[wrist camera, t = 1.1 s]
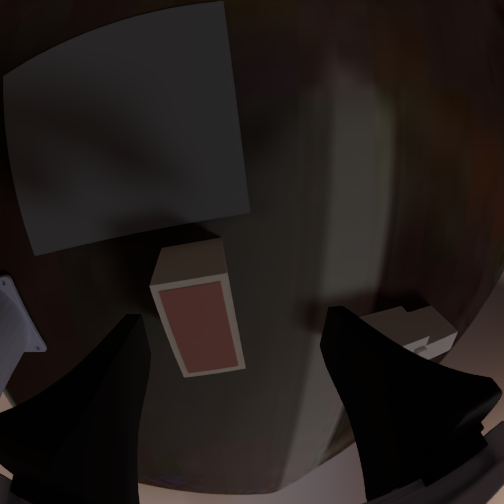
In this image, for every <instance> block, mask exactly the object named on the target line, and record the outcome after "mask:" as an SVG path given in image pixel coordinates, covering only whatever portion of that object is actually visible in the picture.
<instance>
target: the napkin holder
mask: <svg viewBox="0 0 504 504" xmlns="http://www.w3.org/2000/svg"><path fill="white" fill-rule="evenodd" d="M359 318H361V319H362V320H364V321H365V322H366V323H368V324H369V325H371V326H372V327H373V328H375V329H376V330H378V331H379V332H381V333H382V334H383V335H385V336H387V337H388V338H390V339H391V340H393V341H394V342H396V343H398V344H399V345H401V346H403V347H404V348H406V349H408V350H410V351H412V352H414V353H416V354H417V355H419V356H421V357H423V358H426V359H428V360H429V359H431V358H433V357H435V356H437V355H439V354H442V353H444V352H446V351H448V350H450V348H451V346H452V344H453V342H454V340H455V337H456V335H457V333H458V331H457V330H456V329H455V328H454V327H453V326H452V325H451V324H450V323H449V322H448V321H447V320H446V319H445V318H443V317H442V316H441V315H440V314H439V313H438V312H437V311H436V310H435V309H434V308H433V307H432V306H431V305H430V306H427V307H424V308H421V309H418V310H415V311H412V312H407V311H406V310H405V309H404V308H403V307H402V306H399V307H396V308H392V309H388V310H384V311H381V312H377V313H373V314H369V315H365V316H361V317H359Z"/></svg>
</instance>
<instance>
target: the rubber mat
mask: <svg viewBox="0 0 504 504" xmlns="http://www.w3.org/2000/svg"><path fill="white" fill-rule="evenodd" d="M3 100H4V118H5V130H6V139H7V147H8V154H9V160H10V166H11V171H12V176H13V181H14V186H15V190H16V195H17V199H18V203H19V207H20V211H21V214H22V218H23V221H24V225H25V228H26V231H27V234H28V237H29V240H30V243H31V246H32V249H33V252H34V255H35V256H37V255H41V254H45V253H50V252H54V251H58V250H62V249H66V248H71V247H75V246H79V245H84V244H88V243H93V242H97V241H102V240H106V239H111V238H116V237H120V236H125V235H130V234H135V233H140V232H145V231H150V230H155V229H160V228H165V227H171V226H176V225H182V224H187V223H193V222H198V221H204V220H210V219H215V218H221V217H227V216H233V215H240V214H246V213H250V206H249V198H248V190H247V182H246V174H245V166H244V158H243V150H242V142H241V134H240V126H239V118H238V110H237V103H236V95H235V87H234V79H233V71H232V64H231V56H230V48H229V40H228V33H227V25H226V17H225V10H224V2H223V1H218V2H209V3H200V4H193V5H186V6H180V7H175V8H169V9H164V10H160V11H155V12H151V13H147V14H143V15H139V16H135V17H132V18H128V19H125V20H121V21H118V22H115V23H112V24H109V25H106V26H103V27H100V28H98V29H95V30H92V31H90V32H87V33H85V34H82V35H80V36H77V37H75V38H73V39H70V40H68V41H66V42H64V43H61V44H59V45H57V46H55V47H53V48H51V49H49V50H47V51H45V52H43V53H41V54H39V55H38V56H36V57H34V58H32V59H30V60H29V61H27V62H25V63H23V64H22V65H20V66H18V67H17V68H15V69H14V70H12V71H10V72H9V73H7V74H6V75H4V76H3Z"/></svg>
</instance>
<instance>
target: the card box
mask: <svg viewBox="0 0 504 504" xmlns="http://www.w3.org/2000/svg"><path fill="white" fill-rule="evenodd" d="M150 289H151V292H152V295H153V298H154V301H155V304H156V307H157V310H158V313H159V315H160V318H161V321H162V324H163V326H164V329H165V332H166V334H167V337H168V339H169V342H170V345H171V347H172V350H173V352H174V354H175V357H176V359H177V362H178V364H179V366H180V369H181V371H182V373H183V376H184V377H192V376H200V375H207V374H214V373H220V372H227V371H233V370H239V369H244V368H245V363H244V358H243V353H242V347H241V342H240V337H239V332H238V326H237V321H236V316H235V311H234V305H233V300H232V295H231V289H230V284H229V278H228V273H227V267H226V261H225V256H224V250H223V244H222V238H216V239H210V240H204V241H198V242H193V243H187V244H181V245H176V246H170V247H165V248H162V249H161V252H160V255H159V258H158V261H157V264H156V267H155V270H154V273H153V276H152V279H151V282H150Z"/></svg>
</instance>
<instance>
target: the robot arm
mask: <svg viewBox="0 0 504 504" xmlns="http://www.w3.org/2000/svg"><path fill="white" fill-rule="evenodd" d="M320 348H321V352H322V355H323V359H324V362H325V365H326V367H327V370H328V372H329V374H330V376H331V379H332V381H333V383H334V385H335V387H336V389H337V392H338V394H339V396H340V398H341V400H342V402H343V405H344V407H345V409H346V412H347V414H348V417H349V420H350V423H351V427H352V430H353V433H354V437H355V441H356V444H357V448H358V452H359V457H360V462H361V467H362V471H363V478H364V485H365V493H366V499H367V502H366V503H363V504H487V503H488V501H489V500H491V498H492V497H493V496H494V495H495V494H496V493H497V492H498V491H499V490H500V488H501V487H502V486H503V485H504V421H502V422H500V423H499V424H498V425H497V426H495V427H494V428H493V429H492V430H490V431H489V432H488V433H487V434H486V435H484V436H483V435H482V434H481V431H482V430H483V429H484V427H483V425H482V423H481V421H482V420H483V419H484V418H485V417H486V416H487V415H488V413H489V412H490V411H491V410H492V409H493V408H494V406H495V405H496V404H497V403H498V401H499V400H500V398H501V396H502V390H501V389H500V388H499V387H498V385H497V384H496V383H495V381H494V380H493V379H492V378H490V377H484V376H479V375H473V374H469V373H464V372H461V371H458V370H454V369H451V368H448V367H445V366H443V365H440V364H438V363H435V362H433V361H430V360H428V359H426V358H423V357H421V356H419V355H417V354H416V353H414V352H412V351H410V350H408V349H406V348H404V347H403V346H401V345H399V344H398V343H396V342H394V341H393V340H391V339H390V338H388V337H387V336H385V335H383V334H382V333H381V332H379V331H378V330H376V329H375V328H373V327H372V326H371V325H369V324H368V323H366V322H365V321H364V320H362V319H361V318H359V317H358V316H357V315H355V314H354V313H352V312H351V311H349V310H348V309H346V308H345V307H343V306H336V307H328V311H327V316H326V320H325V325H324V329H323V333H322V338H321V342H320ZM46 349H47V347H46V345H45V343H44V341H43V340H42V338H41V336H40V334H39V333H38V331H37V329H36V327H35V326H34V324H33V322H32V320H31V318H30V316H29V314H28V312H27V310H26V308H25V306H24V304H23V302H22V300H21V298H20V296H19V294H18V292H17V290H16V287H15V285H14V283H13V280H12V278H11V277H10V276H9V275H3V276H0V396H1V394H2V392H3V390H4V388H5V386H6V384H7V382H8V380H9V378H10V376H11V374H12V372H13V371H14V369H15V367H16V365H17V363H18V361H19V360H20V358H21V356H22V354H23V353H24V352H45V351H46ZM150 359H151V351H150V347H149V344H148V340H147V336H146V331H145V327H144V323H143V318H142V314H126V315H125V316H124V318H123V319H122V320H121V321H120V322H119V323H118V324H117V325H116V326H115V327H114V328H113V329H112V330H111V332H110V333H109V334H108V335H107V336H106V337H105V338H104V339H103V340H102V341H101V342H100V343H99V344H98V345H97V347H96V348H95V349H94V350H92V351H91V352H90V353H89V354H88V355H87V356H86V357H85V358H84V359H83V360H82V361H81V362H80V363H79V364H78V365H77V366H76V367H75V368H73V369H72V370H71V371H70V372H69V373H67V374H66V375H65V376H64V377H62V378H61V379H60V380H58V381H57V382H56V383H54V384H53V385H51V386H50V387H48V388H47V389H45V390H44V391H42V392H41V393H39V394H38V395H36V396H34V397H32V398H31V399H29V400H27V401H25V402H23V403H21V404H19V405H17V406H15V407H13V408H11V409H8V410H6V411H3V412H1V413H0V464H1V465H2V466H3V467H4V468H6V469H7V470H8V471H9V472H11V473H12V474H13V479H12V480H10V479H9V478H7V477H6V476H4V475H2V474H0V504H140V503H139V494H138V476H137V447H138V430H139V422H140V417H141V412H142V407H143V402H144V397H145V392H146V387H147V383H148V378H149V370H150Z"/></svg>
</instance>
